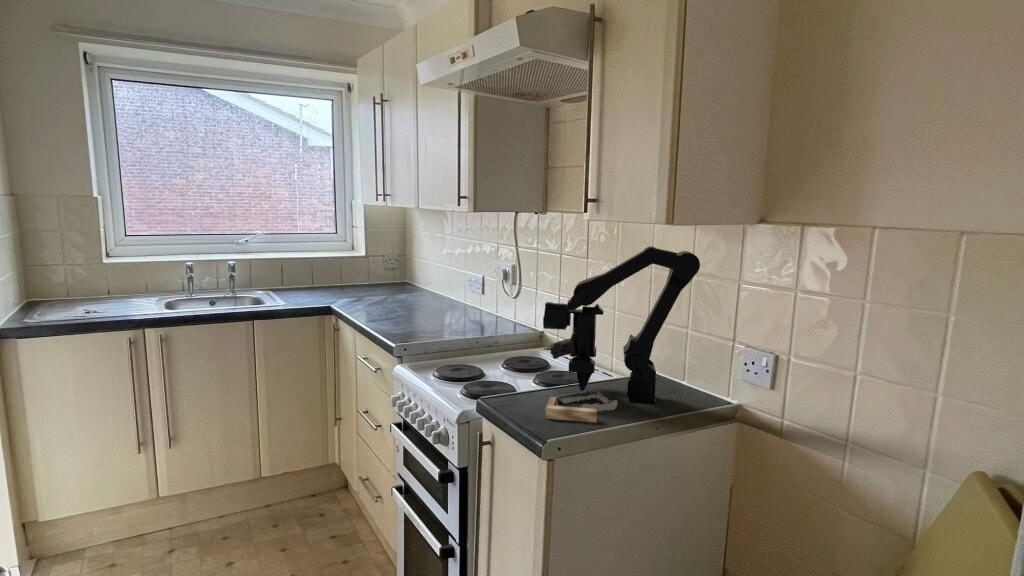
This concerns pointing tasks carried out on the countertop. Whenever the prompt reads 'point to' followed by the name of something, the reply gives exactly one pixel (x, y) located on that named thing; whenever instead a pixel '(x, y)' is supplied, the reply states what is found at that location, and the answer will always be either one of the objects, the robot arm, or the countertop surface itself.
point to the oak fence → (569, 412)
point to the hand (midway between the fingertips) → (582, 390)
